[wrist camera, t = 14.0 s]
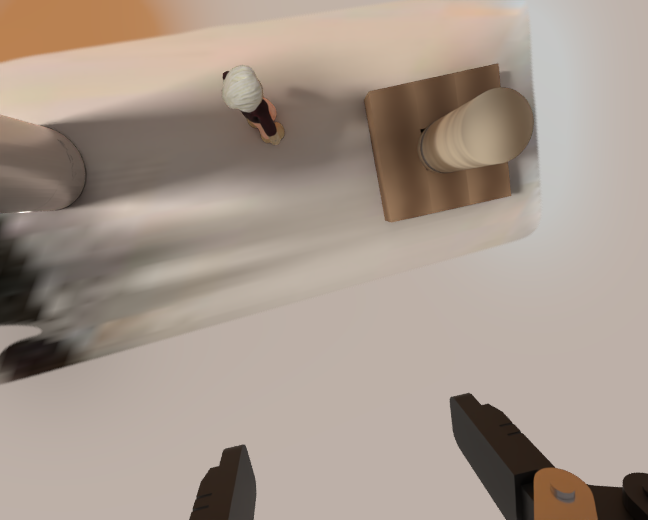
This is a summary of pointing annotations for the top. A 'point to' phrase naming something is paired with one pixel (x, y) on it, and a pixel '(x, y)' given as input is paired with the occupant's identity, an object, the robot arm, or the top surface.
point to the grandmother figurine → (251, 102)
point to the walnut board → (402, 145)
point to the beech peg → (478, 133)
